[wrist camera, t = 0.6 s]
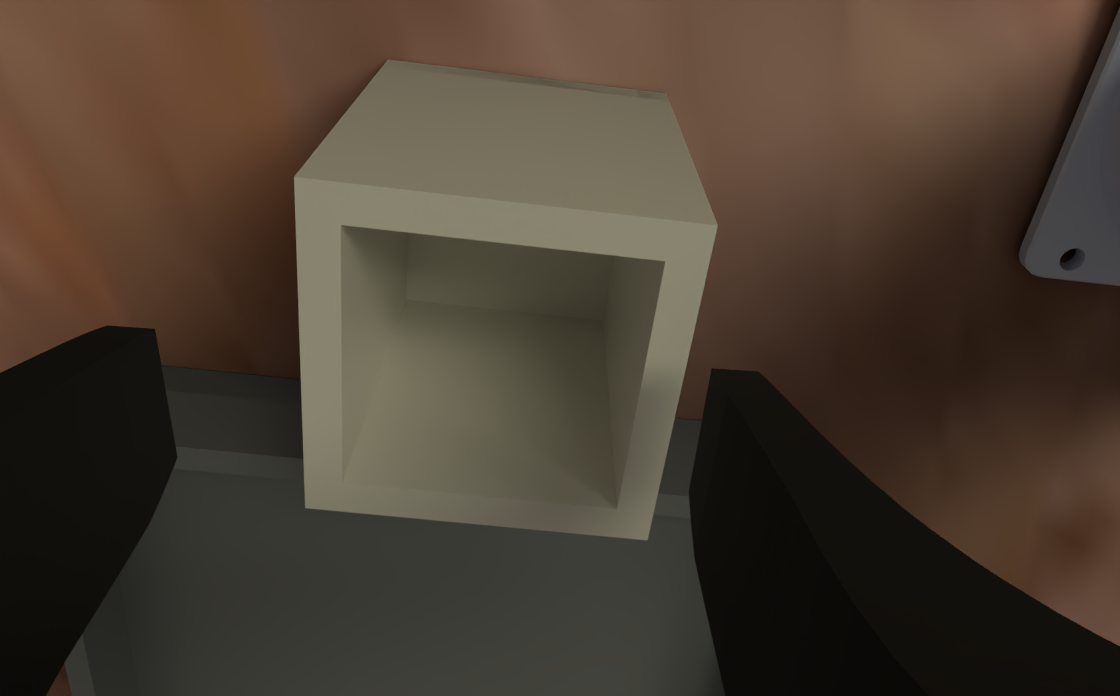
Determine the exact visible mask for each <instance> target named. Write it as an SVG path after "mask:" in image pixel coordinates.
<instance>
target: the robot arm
mask: <svg viewBox="0 0 1120 696" xmlns="http://www.w3.org/2000/svg"><path fill="white" fill-rule="evenodd" d="M1075 248H1076V252H1075V254H1074V256H1073V257H1072V258H1071V259H1070V260H1068V261H1067V262H1065V263H1060V258H1061V257H1062V255H1063V254H1064V253H1065V252H1067V251H1068V250H1070V249H1075ZM1019 259H1020V263H1021V264H1022V265H1023V266H1024V267H1025V268H1026V269H1027V270H1028V271H1029V272H1030V273H1031V274H1032V275H1035V276H1038V277H1044V278H1053V279H1062V280H1071V281H1079V282H1088V283H1097V284H1106V285H1115V286H1120V8H1119V10H1118V12H1117V15H1116V17H1115V20H1114V22H1113V25H1112V27H1111V29H1110V32H1109V34H1108V37H1107V39H1106V42H1105V44H1104V46H1103V49H1102V51H1101V54H1100V56H1099V59H1098V61H1097V63H1096V66H1095V68H1094V71H1093V73H1092V75H1091V78H1090V80H1089V83H1088V85H1087V88H1086V90H1085V92H1084V95H1083V97H1082V100H1081V102H1080V105H1079V107H1078V109H1077V112H1076V114H1075V117H1074V119H1073V121H1072V124H1071V126H1070V129H1069V131H1068V134H1067V136H1066V138H1065V141H1064V143H1063V146H1062V148H1061V151H1060V153H1059V155H1058V158H1057V160H1056V163H1055V165H1054V168H1053V170H1052V172H1051V175H1050V177H1049V180H1048V182H1047V184H1046V187H1045V189H1044V192H1043V194H1042V197H1041V199H1040V201H1039V204H1038V206H1037V209H1036V211H1035V214H1034V216H1033V218H1032V221H1031V223H1030V226H1029V228H1028V230H1027V233H1026V235H1025V238H1024V240H1023V243H1022V245H1021V247H1020V252H1019ZM177 458H178V457H177V451H176V445H175V440H174V434H173V429H172V423H171V417H170V412H169V406H168V400H167V395H166V389H165V383H164V378H163V372H162V367H161V361H160V355H159V350H158V344H157V338H156V333H155V329H147V328H133V327H119V326H105V327H102V328H99V329H96V330H93V331H91V332H88V333H86V334H83V335H81V336H79V337H76V338H74V339H72V340H69V341H67V342H65V343H63V344H61V345H58V346H56V347H54V348H52V349H50V350H48V351H45V352H43V353H41V354H39V355H37V356H35V357H33V358H31V359H29V360H27V361H24V362H22V363H20V364H18V365H16V366H14V367H12V368H10V369H8V370H6V371H3V372H1V373H0V696H46V694H47V693H48V691H49V689H50V687H51V685H52V684H53V682H54V680H55V678H56V676H57V675H58V673H59V671H60V669H61V668H62V666H63V664H64V663H65V661H66V659H67V658H68V656H69V655H70V653H71V651H72V650H73V648H74V646H75V645H76V643H77V642H78V640H79V638H80V637H81V635H82V634H83V632H84V630H85V629H86V627H87V625H88V624H89V622H90V621H91V619H92V617H93V616H94V614H95V613H96V611H97V609H98V608H99V606H100V604H101V603H102V601H103V600H104V598H105V596H106V595H107V593H108V591H109V590H110V588H111V587H112V585H113V583H114V582H115V580H116V579H117V577H118V575H119V574H120V572H121V570H122V569H123V567H124V565H125V564H126V562H127V560H128V559H129V557H130V556H131V554H132V552H133V551H134V549H135V547H136V546H137V544H138V542H139V541H140V539H141V537H142V536H143V534H144V532H145V530H146V529H147V527H148V525H149V524H150V522H151V520H152V517H153V515H154V513H155V511H156V508H157V506H158V504H159V502H160V499H161V497H162V495H163V493H164V490H165V488H166V485H167V483H168V480H169V478H170V475H171V473H172V470H173V468H174V465H175V463H176V460H177ZM689 504H690V517H691V529H692V539H693V549H694V558H695V563H696V568H697V573H698V577H699V582H700V586H701V591H702V595H703V600H704V604H705V609H706V613H707V618H708V622H709V627H710V631H711V635H712V640H713V644H714V649H715V653H716V657H717V662H718V666H719V671H720V675H721V679H722V684H723V688H724V693H725V696H1120V646H1118V645H1116V644H1114V643H1112V642H1110V641H1108V640H1106V639H1104V638H1102V637H1100V636H1099V635H1097V634H1095V633H1093V632H1091V631H1090V630H1088V629H1086V628H1084V627H1082V626H1081V625H1079V624H1077V623H1075V622H1073V621H1071V620H1070V619H1068V618H1066V617H1064V616H1062V615H1061V614H1059V613H1057V612H1055V611H1054V610H1052V609H1050V608H1049V607H1047V606H1046V605H1044V604H1042V603H1041V602H1039V601H1037V600H1036V599H1034V598H1032V597H1031V596H1029V595H1027V594H1026V593H1024V592H1023V591H1021V590H1019V589H1018V588H1016V587H1014V586H1013V585H1011V584H1009V583H1008V582H1006V581H1004V580H1003V579H1001V578H1000V577H998V576H997V575H995V574H994V573H992V572H991V571H989V570H988V569H986V568H984V567H983V566H981V565H980V564H978V563H977V562H975V561H974V560H972V559H971V558H970V557H968V556H967V555H966V554H964V553H963V552H961V551H960V550H959V549H957V548H956V547H954V546H953V545H952V544H950V543H949V542H947V541H946V540H945V539H943V538H942V537H940V536H939V535H938V534H936V533H935V532H934V531H932V530H931V529H929V528H928V527H927V526H925V525H924V524H923V523H922V522H920V521H919V520H918V519H916V518H915V517H914V516H913V515H911V514H910V513H909V512H907V511H906V510H905V509H904V508H903V507H901V506H900V505H899V504H898V503H897V502H895V501H894V500H893V499H892V498H891V497H890V496H888V495H887V494H886V493H885V492H884V491H882V490H881V489H880V488H879V487H878V486H877V485H875V484H874V483H873V482H872V481H871V480H870V479H868V478H867V477H866V476H865V475H864V474H863V473H862V472H861V471H860V470H858V469H857V468H856V467H855V466H854V465H853V464H852V463H851V462H850V461H849V460H848V459H846V458H845V457H844V456H843V455H842V454H841V453H840V452H839V451H838V450H837V449H836V448H835V447H834V446H833V445H832V444H831V443H830V442H829V441H828V440H827V439H825V438H824V437H823V436H822V435H821V434H820V433H819V432H818V431H817V430H816V429H815V428H814V427H813V426H812V425H811V424H810V423H809V422H808V421H807V420H806V419H805V418H804V417H803V416H802V415H801V414H800V412H799V411H798V410H797V409H796V408H795V407H794V406H793V405H792V404H791V403H790V402H789V401H788V400H787V399H786V398H785V397H784V396H783V395H782V394H781V393H780V392H779V391H778V390H777V389H776V388H775V387H774V386H773V385H772V384H771V383H770V382H769V381H768V380H767V379H766V378H765V377H764V376H763V375H761V374H760V373H759V372H755V371H741V370H727V369H713V368H712V370H711V376H710V381H709V386H708V392H707V397H706V402H705V407H704V413H703V418H702V423H701V428H700V434H699V439H698V444H697V450H696V455H695V460H694V465H693V471H692V476H691V481H690V486H689Z"/></svg>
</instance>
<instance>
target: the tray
mask: <svg viewBox="0 0 1120 696" xmlns="http://www.w3.org/2000/svg"><path fill="white" fill-rule="evenodd" d="M161 367H162V372H163V378H164V383H165V389H166V395H167V400H168V406H169V412H170V417H171V423H172V429H173V434H174V440H175V445H176V451H177V457H178V458H177V460H176V463H175V465H174V468H173V470H172V473H171V475H170V478H169V480H168V483H167V485H166V488H165V490H164V493H163V495H162V497H161V499H160V502H159V504H158V506H157V508H156V511H155V513H154V515H153V517H152V520H151V522H150V524H149V525H148V527H147V529H146V530H145V532H144V534H143V536H142V537H141V539H140V541H139V542H138V544H137V546H136V547H135V549H134V551H133V552H132V554H131V556H130V557H129V559H128V560H127V562H126V564H125V565H124V567H123V569H122V570H121V572H120V574H119V575H118V577H117V579H116V580H115V582H114V583H113V585H112V587H111V588H110V590H109V591H108V593H107V595H106V596H105V598H104V600H103V601H102V603H101V604H100V606H99V608H98V609H97V611H96V613H95V614H94V616H93V617H92V619H91V621H90V622H89V624H88V625H87V627H86V629H85V630H84V632H83V634H82V635H81V637H80V638H79V640H78V642H77V643H76V645H75V646H74V648H73V650H72V651H71V653H70V655H69V656H68V658H67V659H66V661H65V663H64V665H65V669H66V673H67V677H68V681H69V686H70V690H71V694H72V696H725V693H724V688H723V684H722V679H721V675H720V671H719V666H718V662H717V657H716V653H715V649H714V644H713V640H712V635H711V631H710V627H709V622H708V618H707V613H706V609H705V604H704V600H703V595H702V591H701V586H700V582H699V577H698V573H697V568H696V563H695V558H694V549H693V539H692V529H691V517H690V504H689V486H690V481H691V476H692V471H693V465H694V460H695V455H696V450H697V444H698V439H699V434H700V428H701V423H702V421H699V420H689V419H679V418H675V419H674V424H673V428H672V433H671V437H670V442H669V446H668V451H667V455H666V460H665V464H664V469H663V473H662V478H661V482H660V486H659V491H658V495H657V500H656V504H655V509H654V513H653V518H652V522H651V527H650V531H649V536H648V540H638V539H627V538H616V537H606V536H595V535H585V534H574V533H564V532H553V531H542V530H532V529H521V528H511V527H500V526H489V525H479V524H468V523H458V522H447V521H436V520H426V519H415V518H405V517H394V516H383V515H373V514H362V513H352V512H341V511H330V510H320V509H309V508H305V489H304V459H303V429H302V399H301V380H298V379H288V378H278V377H268V376H259V375H249V374H239V373H229V372H219V371H210V370H200V369H190V368H180V367H170V366H161Z"/></svg>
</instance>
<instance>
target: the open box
mask: <svg viewBox="0 0 1120 696" xmlns="http://www.w3.org/2000/svg"><path fill="white" fill-rule="evenodd" d="M294 191H295V220H296V250H297V280H298V310H299V340H300V370H301V399H302V429H303V459H304V489H305V508H309V509H320V510H330V511H341V512H352V513H362V514H373V515H383V516H394V517H405V518H415V519H426V520H436V521H447V522H458V523H468V524H479V525H489V526H500V527H511V528H521V529H532V530H542V531H553V532H564V533H574V534H585V535H595V536H606V537H616V538H627V539H638V540H648V536H649V531H650V527H651V522H652V518H653V513H654V509H655V504H656V500H657V495H658V491H659V486H660V482H661V478H662V473H663V469H664V464H665V460H666V455H667V451H668V446H669V442H670V437H671V433H672V428H673V424H674V419H675V415H676V410H677V406H678V401H679V397H680V392H681V388H682V383H683V379H684V374H685V370H686V366H687V361H688V357H689V352H690V348H691V343H692V339H693V334H694V330H695V325H696V321H697V316H698V312H699V307H700V303H701V298H702V294H703V289H704V285H705V280H706V276H707V271H708V267H709V262H710V258H711V254H712V249H713V245H714V240H715V236H716V231H717V227H718V225H717V222H716V220H715V217H714V215H713V212H712V209H711V207H710V204H709V202H708V199H707V197H706V194H705V191H704V189H703V186H702V184H701V181H700V179H699V176H698V174H697V171H696V168H695V166H694V163H693V161H692V158H691V156H690V153H689V151H688V148H687V145H686V143H685V140H684V138H683V135H682V133H681V130H680V128H679V125H678V122H677V120H676V117H675V115H674V112H673V110H672V107H671V105H670V102H669V99H668V97H667V94H666V93H659V92H650V91H642V90H634V89H626V88H618V87H610V86H601V85H593V84H585V83H577V82H569V81H561V80H552V79H544V78H536V77H528V76H520V75H512V74H503V73H495V72H487V71H479V70H471V69H463V68H454V67H446V66H438V65H430V64H422V63H413V62H405V61H397V60H389V59H388V60H387V61H386V62H385V64H384V65H383V66H382V67H381V69H380V70H379V71H378V72H377V74H376V75H375V76H374V77H373V79H372V80H371V81H370V82H369V84H368V85H367V86H366V88H365V89H364V90H363V91H362V93H361V94H360V95H359V96H358V98H357V99H356V100H355V101H354V103H353V104H352V105H351V106H350V108H349V109H348V110H347V111H346V113H345V114H344V115H343V116H342V118H341V119H340V120H339V121H338V123H337V124H336V125H335V126H334V128H333V129H332V130H331V131H330V133H329V134H328V135H327V136H326V138H325V139H324V140H323V141H322V143H321V144H320V145H319V146H318V148H317V149H316V150H315V151H314V153H313V154H312V155H311V156H310V158H309V159H308V160H307V161H306V163H305V164H304V165H303V166H302V168H301V169H300V170H299V171H298V173H297V174H296V175H295V176H294Z"/></svg>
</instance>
